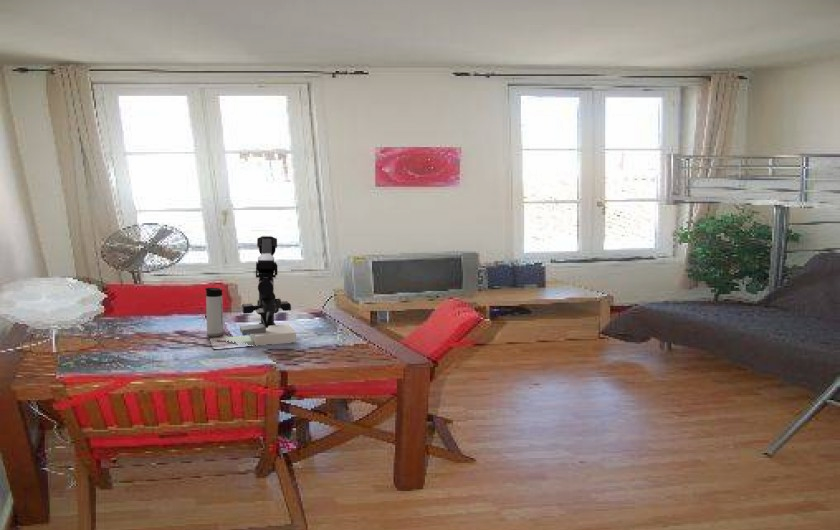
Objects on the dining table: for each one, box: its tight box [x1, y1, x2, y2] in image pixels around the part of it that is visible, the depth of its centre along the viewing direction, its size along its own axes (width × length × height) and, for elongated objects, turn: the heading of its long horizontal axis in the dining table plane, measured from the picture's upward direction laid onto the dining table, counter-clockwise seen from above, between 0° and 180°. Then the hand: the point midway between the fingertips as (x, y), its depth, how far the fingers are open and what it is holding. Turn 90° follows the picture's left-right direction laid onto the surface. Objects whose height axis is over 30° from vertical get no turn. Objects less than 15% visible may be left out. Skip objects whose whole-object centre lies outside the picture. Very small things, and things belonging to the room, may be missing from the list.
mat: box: [209, 335, 255, 347], centre depth 208 cm, size 15×15×1 cm
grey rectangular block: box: [239, 323, 266, 336], centre depth 211 cm, size 9×6×2 cm, turn 118°
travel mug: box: [205, 287, 224, 337], centre depth 217 cm, size 6×7×20 cm
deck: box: [249, 323, 297, 346], centre depth 215 cm, size 14×16×4 cm
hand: (266, 327), depth 213 cm, fingers closed
